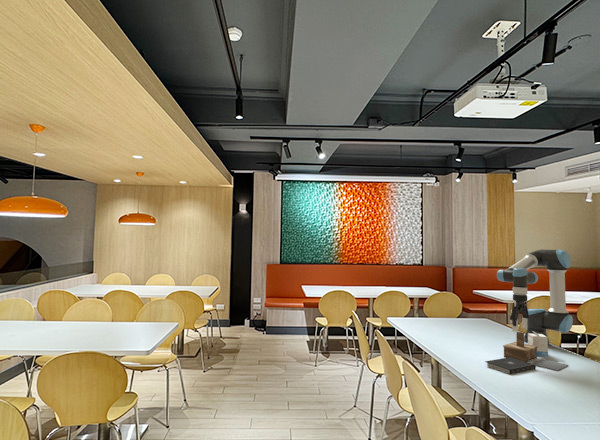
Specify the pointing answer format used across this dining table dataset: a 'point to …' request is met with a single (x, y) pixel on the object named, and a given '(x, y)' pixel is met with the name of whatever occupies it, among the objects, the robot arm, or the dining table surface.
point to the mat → (550, 364)
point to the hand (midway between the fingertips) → (519, 330)
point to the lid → (520, 344)
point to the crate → (520, 354)
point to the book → (510, 365)
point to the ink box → (539, 343)
